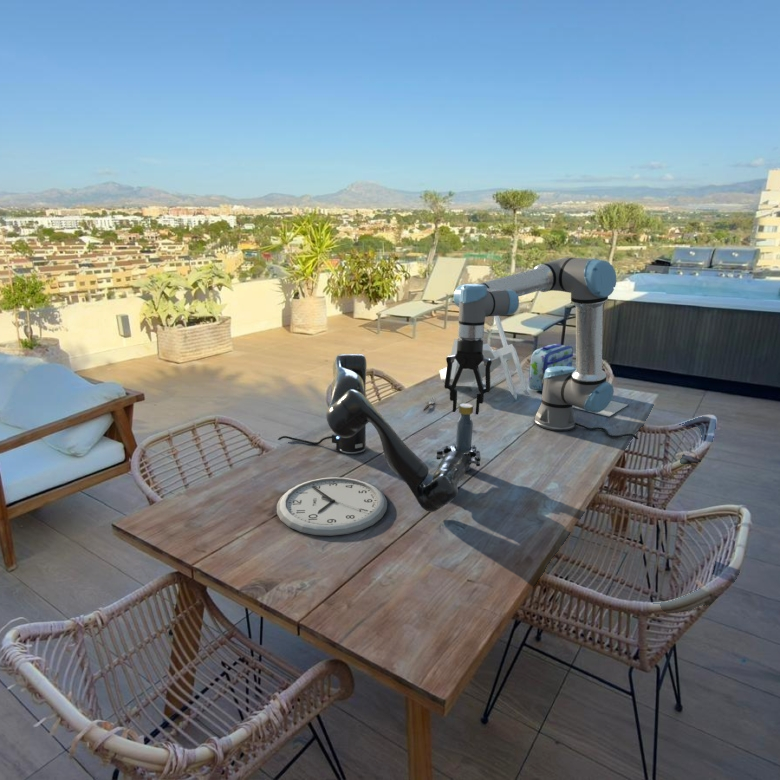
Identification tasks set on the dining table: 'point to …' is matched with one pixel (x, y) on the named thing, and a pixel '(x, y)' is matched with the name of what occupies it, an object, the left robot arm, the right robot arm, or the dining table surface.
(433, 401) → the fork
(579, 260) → the right robot arm
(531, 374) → the lunch box
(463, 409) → the cap
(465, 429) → the bottle
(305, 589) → the dining table surface
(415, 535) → the dining table surface
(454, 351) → the white plastic object
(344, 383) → the left robot arm
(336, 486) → the wall clock
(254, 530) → the dining table surface
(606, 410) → the invitation card
